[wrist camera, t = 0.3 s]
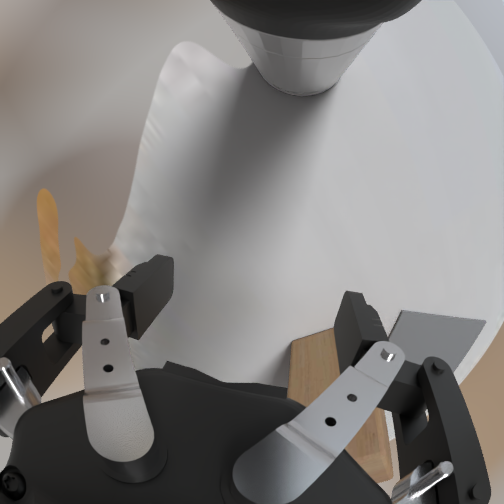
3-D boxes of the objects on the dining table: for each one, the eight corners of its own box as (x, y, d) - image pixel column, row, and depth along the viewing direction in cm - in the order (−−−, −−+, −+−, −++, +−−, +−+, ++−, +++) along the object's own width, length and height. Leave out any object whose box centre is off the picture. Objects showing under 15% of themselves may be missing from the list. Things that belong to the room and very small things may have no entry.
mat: (401, 310, 32) (402, 311, 32) (485, 320, 31) (486, 321, 30) (355, 392, 40) (356, 394, 39) (435, 393, 38) (435, 394, 38)
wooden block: (374, 362, 36) (393, 479, 18) (314, 381, 40) (310, 495, 22) (359, 316, 33) (386, 455, 15) (290, 339, 37) (276, 474, 19)
